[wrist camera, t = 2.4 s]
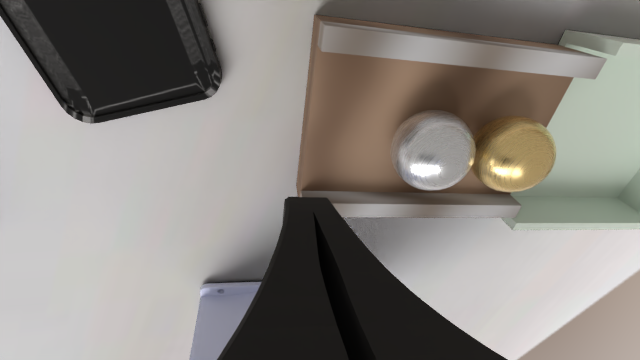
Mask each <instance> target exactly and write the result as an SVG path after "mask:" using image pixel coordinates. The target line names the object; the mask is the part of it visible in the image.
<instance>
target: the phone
mask: <svg viewBox="0 0 640 360" xmlns="http://www.w3.org/2000/svg"><path fill="white" fill-rule="evenodd" d="M0 16H1V17H2V19H3V20H4V22H5V23H6V25H7V26H8V28H9V29H10V31H11V32H12V34H13V35H14V37H15V38H16V40H17V41H18V43H19V44H20V46H21V47H22V49H23V50H24V52H25V53H26V55H27V56H28V58H29V59H30V61H31V62H32V64H33V65H34V67H35V68H36V70H37V71H38V72H39V74H40V75H41V77H42V78H43V80H44V81H45V83H46V84H47V86H48V87H49V89H50V90H51V92H52V93H53V95H54V96H55V98H56V99H57V101H58V102H59V104H60V105H61V107H62V108H63V109H64V110H65V111H66V112H67V113H68V114H69V115H71V116H72V117H73V118H75V119H77V120H80V121H82V122H86V123H100V122H105V121H109V120H114V119H118V118H123V117H127V116H132V115H136V114H141V113H145V112H150V111H154V110H159V109H164V108H168V107H173V106H177V105H182V104H186V103H191V102H195V101H200V100H204V99H207V98H209V97H212V96H213V95H214V94H215V93H216V92H217V90H218V88H219V86H220V83H221V79H222V72H221V67H220V64H219V61H218V58H217V55H216V49H215V46H214V43H213V40H212V39H211V38H210V35H209V32H208V29H207V26H208V25H207V22H206V19H205V16H204V13H203V10H202V7H201V4H200V3H198V0H0Z"/></svg>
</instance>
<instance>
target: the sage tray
mask: <svg viewBox="0 0 640 360" xmlns="http://www.w3.org/2000/svg"><path fill="white" fill-rule="evenodd" d="M558 45H560V46H564V47H567V48H571V49H575V50H578V51H582V52H585V53H589V54H592V55H596V56H599V57H603V58H606V59H607V60H606V62H605V64H604V65H603V67H602V69H601V71H600V72H599V74H598V76H597V78H596V79H586V78H576V77H574V78H573V80H572V82H571V84H570V85H569V87H568V89H567V91H566V93H565V95H564V96H563V98H562V100H561V102H560V104H559V106H558V107H557V109H556V111H555V113H554V115H553V117H552V118H551V120H550V122H549V124H548V126H547V128H546V129H547V130H548V131H549V132H550V133H551V135H552V137H553V139H554V141H555V145H556V160H555V164H554V166H553V168H552V170H551V172H550V173H549V175H548V176H547V177H546V178H545V179H544V180H543V181H542V182H540V183H539V184H537V185H536V186H534V187H532V188H530V189H527V190H524V191H519V192H511V194H510V195H511V196H512V197H513V198H514V199H515V200H517V201H518V202H519V203H520V204H521V205H522V206H521V208H520V210H519V212H518V213H517V215H516V217H515V218H502V220H503V221H504V222H505V223H506V224H507V225H508V226H509V227H510V228H511V229H512V230H625V229H640V40H639V39H632V38H624V37H617V36H610V35H602V34H595V33H588V32H580V31H573V30H565V32H564V34H563V36H562V38H561V40H560V42H559V44H558Z"/></svg>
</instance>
